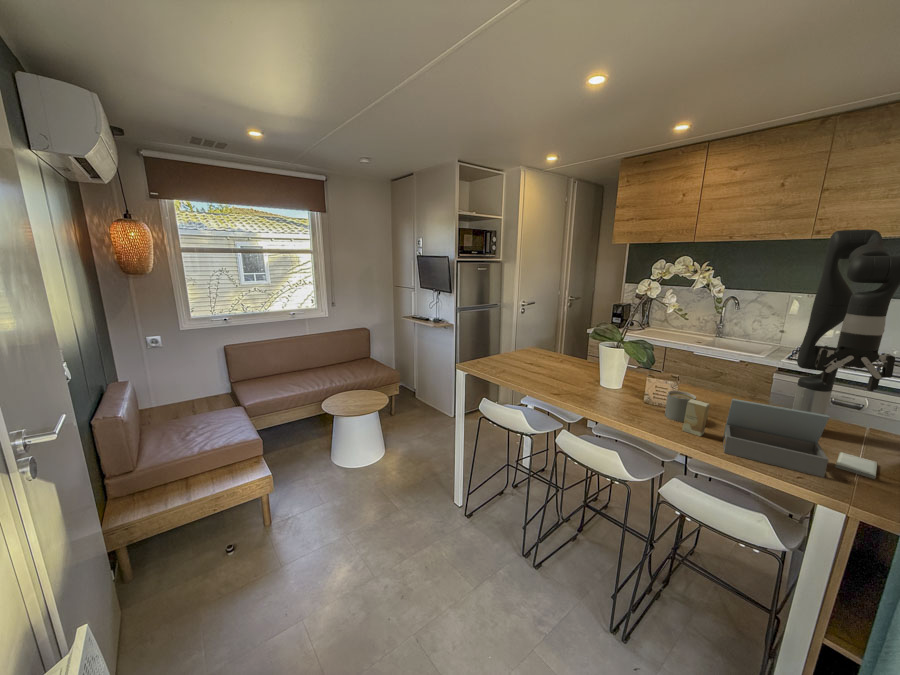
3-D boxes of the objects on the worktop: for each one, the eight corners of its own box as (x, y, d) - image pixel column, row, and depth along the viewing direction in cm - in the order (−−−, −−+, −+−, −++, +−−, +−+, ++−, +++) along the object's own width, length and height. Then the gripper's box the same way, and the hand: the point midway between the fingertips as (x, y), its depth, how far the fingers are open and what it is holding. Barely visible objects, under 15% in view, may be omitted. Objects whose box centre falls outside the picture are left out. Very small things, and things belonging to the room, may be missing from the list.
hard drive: (876, 476, 105) (877, 461, 113) (835, 464, 112) (840, 451, 119) (874, 481, 106) (876, 466, 113) (834, 468, 112) (838, 455, 120)
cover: (726, 424, 128) (726, 421, 129) (817, 443, 115) (817, 440, 115) (732, 400, 122) (732, 398, 123) (829, 417, 108) (828, 414, 109)
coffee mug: (686, 424, 141) (690, 401, 139) (660, 416, 149) (663, 393, 147) (700, 416, 149) (703, 394, 147) (674, 408, 156) (677, 387, 154)
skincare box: (681, 430, 136) (686, 401, 133) (685, 427, 138) (690, 398, 136) (701, 437, 131) (706, 406, 128) (705, 433, 134) (710, 403, 131)
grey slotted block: (723, 439, 130) (725, 423, 128) (814, 460, 116) (818, 443, 115) (724, 452, 120) (727, 436, 119) (824, 477, 106) (828, 459, 105)
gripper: (895, 331, 95) (879, 388, 99) (820, 326, 103) (808, 378, 107) (908, 336, 89) (891, 397, 93) (828, 330, 97) (815, 386, 101)
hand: (847, 387), depth 100 cm, fingers open, 8 cm apart
